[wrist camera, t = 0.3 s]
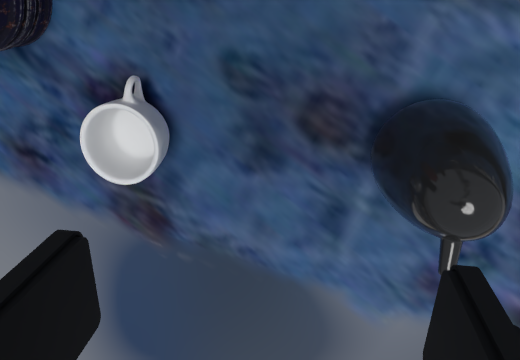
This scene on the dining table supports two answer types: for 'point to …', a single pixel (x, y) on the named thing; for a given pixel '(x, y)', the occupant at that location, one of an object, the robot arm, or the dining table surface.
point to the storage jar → (23, 21)
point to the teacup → (125, 137)
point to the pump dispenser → (444, 173)
